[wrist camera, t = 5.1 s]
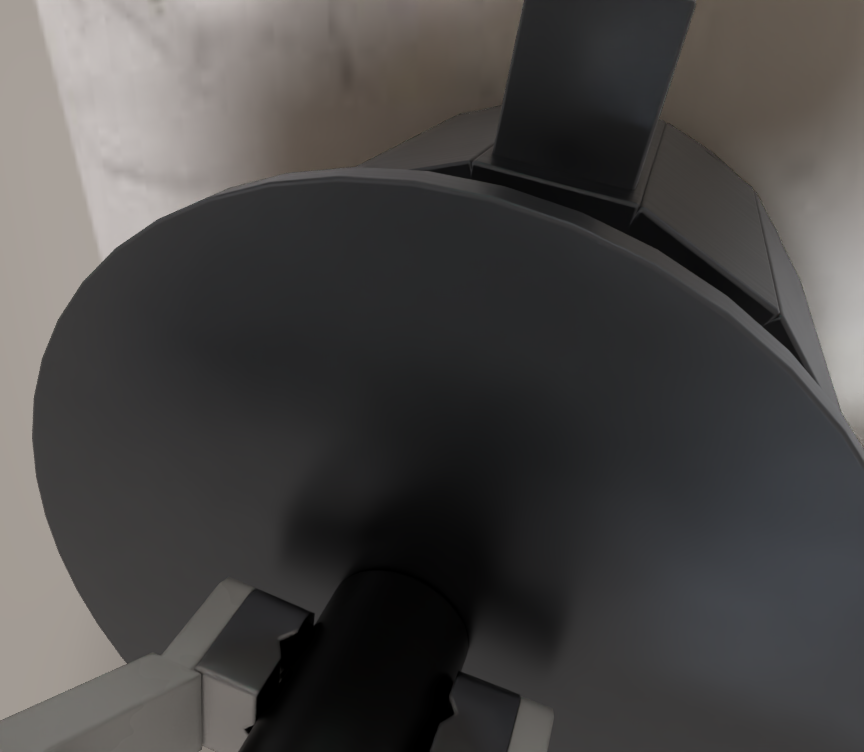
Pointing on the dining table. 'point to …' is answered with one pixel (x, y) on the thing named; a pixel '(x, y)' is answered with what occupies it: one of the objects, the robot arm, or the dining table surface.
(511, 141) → the pot
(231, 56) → the dining table surface
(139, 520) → the pot lid
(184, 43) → the dining table surface
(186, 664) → the robot arm
